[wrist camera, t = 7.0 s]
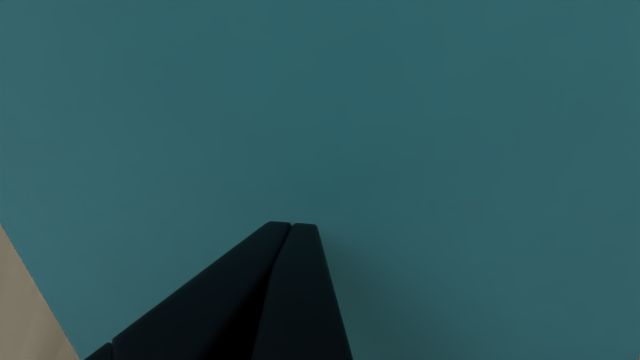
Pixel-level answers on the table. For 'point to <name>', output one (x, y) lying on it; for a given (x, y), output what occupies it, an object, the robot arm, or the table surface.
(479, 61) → the cover
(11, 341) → the table surface
